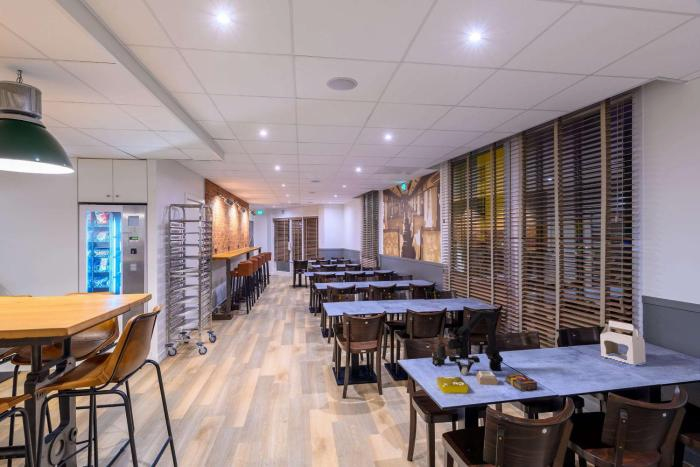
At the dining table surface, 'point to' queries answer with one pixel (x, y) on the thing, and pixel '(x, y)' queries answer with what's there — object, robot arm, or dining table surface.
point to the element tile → (452, 385)
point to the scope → (439, 356)
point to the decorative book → (520, 382)
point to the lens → (464, 369)
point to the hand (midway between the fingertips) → (464, 372)
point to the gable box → (634, 343)
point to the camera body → (486, 378)
